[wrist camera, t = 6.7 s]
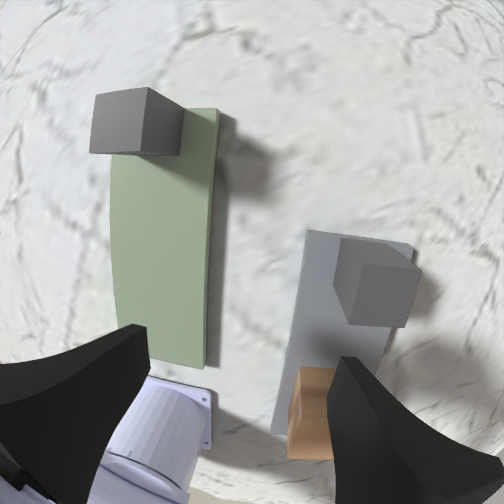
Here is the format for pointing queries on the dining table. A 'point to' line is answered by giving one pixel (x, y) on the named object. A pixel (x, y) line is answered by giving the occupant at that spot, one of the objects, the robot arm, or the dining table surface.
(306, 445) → the walnut block
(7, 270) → the dining table surface
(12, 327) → the dining table surface
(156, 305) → the olive strip
